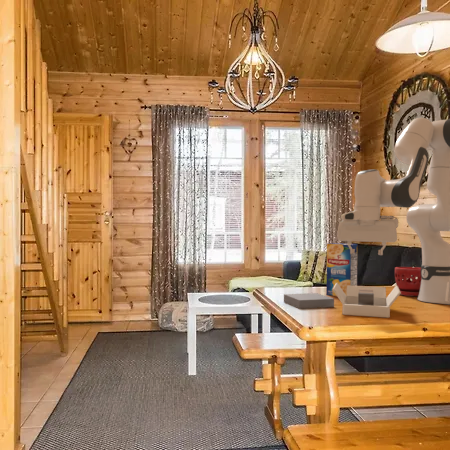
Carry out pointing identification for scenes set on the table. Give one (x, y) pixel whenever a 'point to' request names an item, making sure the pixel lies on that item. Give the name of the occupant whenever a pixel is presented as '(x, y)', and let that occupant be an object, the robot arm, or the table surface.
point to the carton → (378, 310)
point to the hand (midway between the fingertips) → (366, 254)
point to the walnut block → (366, 297)
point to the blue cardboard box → (341, 267)
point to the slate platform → (308, 300)
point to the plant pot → (408, 280)
